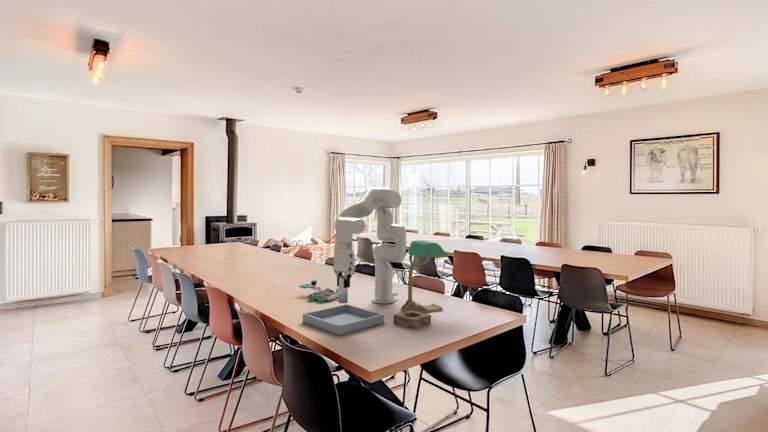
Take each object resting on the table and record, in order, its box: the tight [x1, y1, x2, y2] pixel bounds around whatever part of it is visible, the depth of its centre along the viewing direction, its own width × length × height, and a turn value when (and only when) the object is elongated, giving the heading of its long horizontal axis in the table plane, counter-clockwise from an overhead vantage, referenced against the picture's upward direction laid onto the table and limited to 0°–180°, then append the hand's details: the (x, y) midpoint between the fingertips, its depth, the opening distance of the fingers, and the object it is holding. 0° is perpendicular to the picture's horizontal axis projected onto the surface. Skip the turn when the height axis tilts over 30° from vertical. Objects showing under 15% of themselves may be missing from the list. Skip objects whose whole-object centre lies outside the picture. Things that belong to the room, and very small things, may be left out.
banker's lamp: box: [400, 240, 449, 314], centre depth 215 cm, size 16×21×35 cm
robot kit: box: [299, 279, 339, 304], centre depth 240 cm, size 19×25×9 cm
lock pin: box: [338, 274, 349, 304], centre depth 192 cm, size 4×4×12 cm
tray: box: [302, 303, 385, 337], centre depth 192 cm, size 26×26×4 cm
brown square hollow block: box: [392, 310, 432, 330], centre depth 193 cm, size 12×12×4 cm
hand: (343, 286), depth 192 cm, fingers closed on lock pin, 4 cm apart
